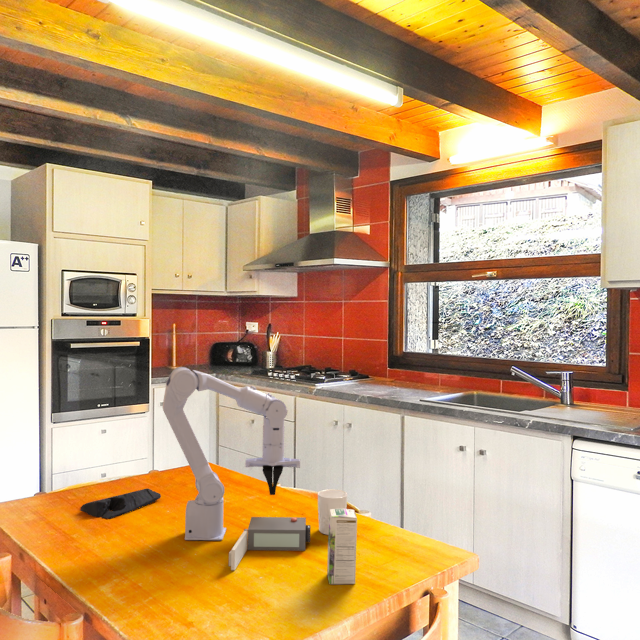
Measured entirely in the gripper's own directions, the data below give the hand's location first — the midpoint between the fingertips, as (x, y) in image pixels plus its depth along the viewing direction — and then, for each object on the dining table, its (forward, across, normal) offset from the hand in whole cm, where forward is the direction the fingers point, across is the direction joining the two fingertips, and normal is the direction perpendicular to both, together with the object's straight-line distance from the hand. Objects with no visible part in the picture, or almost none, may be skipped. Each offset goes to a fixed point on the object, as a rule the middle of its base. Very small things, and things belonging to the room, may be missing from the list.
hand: (272, 493), depth 160 cm
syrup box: (+10, +17, -30) cm, 36 cm away
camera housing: (+9, +2, -10) cm, 14 cm away
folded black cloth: (+10, -46, +18) cm, 50 cm away
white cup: (+10, +16, -1) cm, 19 cm away
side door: (+9, -6, -20) cm, 23 cm away
